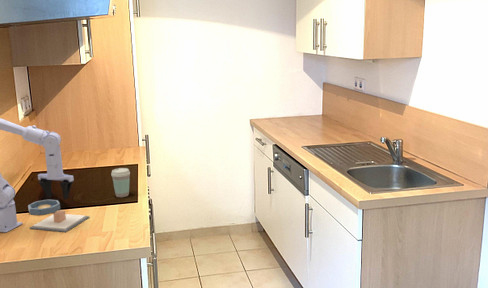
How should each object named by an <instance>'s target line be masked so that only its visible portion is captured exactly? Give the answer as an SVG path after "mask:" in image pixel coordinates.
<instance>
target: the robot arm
mask: <svg viewBox="0 0 488 288" xmlns="http://www.w3.org/2000/svg"><path fill="white" fill-rule="evenodd" d="M0 130H1V131H3V132H7V133H10V134H15V135H19V136H21V137H22V139H23V140H24V141H27V142H30V143H32V144H35V145H38V146H42V147H43V149H44V151H45V153H44V156H45V165H46V173H39V174H37V179H38V180H39V181H38V184H39V185H40V187H41V188H42V190H43V192H44V195H45V196H46V199H49V198H52V194H53V193H52V181H59V182H60V181H61V182H60V183H59V185H60V187H61V191H62V196H63V200H68V199H69V198H70V197H69V196H70V191H71V188H72V185H73V183H74V181H75V178H74V175H70V174H66V173H64V169H63V168H64V167H63V159H62V151H61V150H62V149H61V145H60V144H61V143H62V138H61V137H62V136H61V135H60V134H59V133H57V132H55V131H49V130H45V129H41V128H37V125H34V124H33V125H28V126H26V127H24V126H22V125H19V124H17V123H15V122H11V121H9V120H6V119H4V118H1V117H0ZM15 196H16V190H15V188H14V187H13V186H12V185H11V184H10V183H9V182H8V180H7V179H5V178H4V177H3V175H2V173H1V172H0V233H8V232H10V231H11V230H14V229H15V228H17V227H20V226H21V225H23V224H24V223H23V221H22V222H21V221H18V218H17V211H16V202H15V200H14V199H15Z"/></svg>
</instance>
